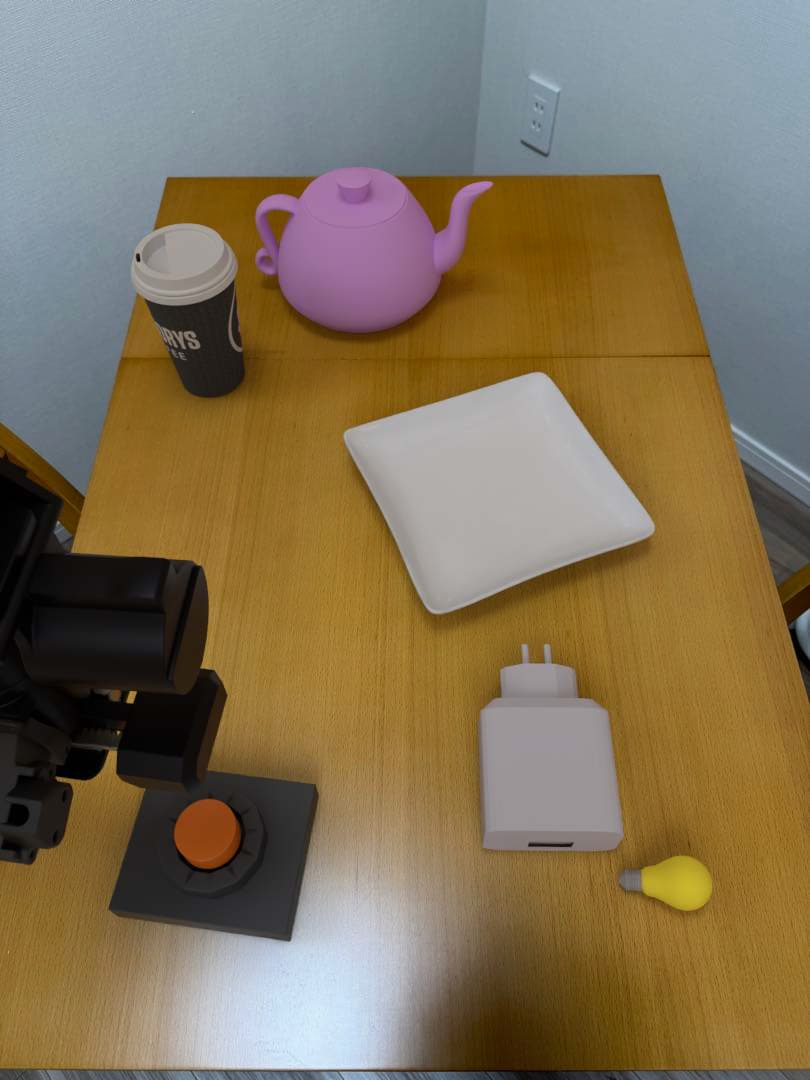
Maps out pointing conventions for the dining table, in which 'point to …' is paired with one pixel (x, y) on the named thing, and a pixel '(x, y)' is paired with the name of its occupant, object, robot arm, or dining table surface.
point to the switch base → (235, 887)
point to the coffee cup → (193, 304)
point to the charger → (546, 764)
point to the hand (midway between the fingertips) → (88, 764)
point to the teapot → (360, 249)
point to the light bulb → (672, 882)
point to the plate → (494, 490)
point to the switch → (207, 833)
